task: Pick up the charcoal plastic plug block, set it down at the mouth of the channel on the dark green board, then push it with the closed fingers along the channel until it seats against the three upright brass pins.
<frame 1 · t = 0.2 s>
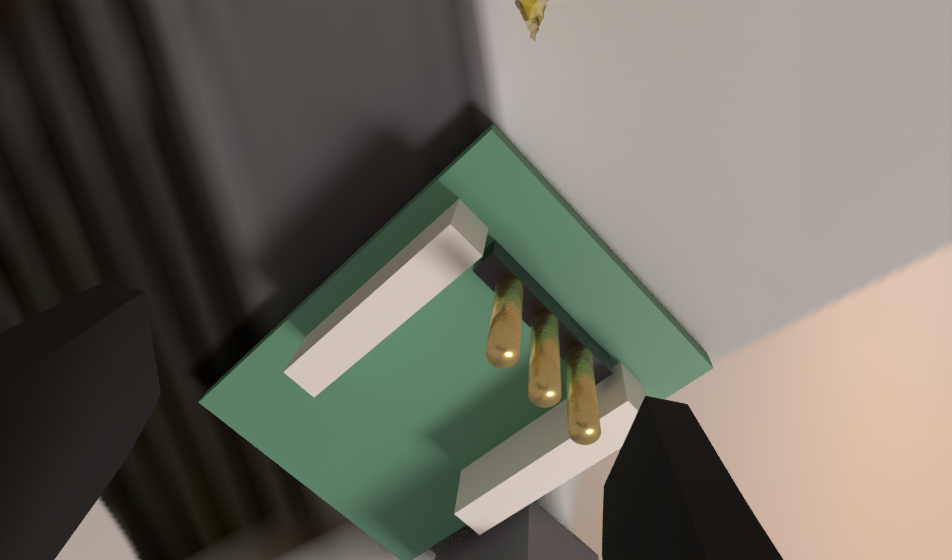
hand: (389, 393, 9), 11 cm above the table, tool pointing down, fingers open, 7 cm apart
plug block: (515, 554, 26), on the table
header pins: (544, 294, 20), resting on board
board: (444, 372, 22), on the table
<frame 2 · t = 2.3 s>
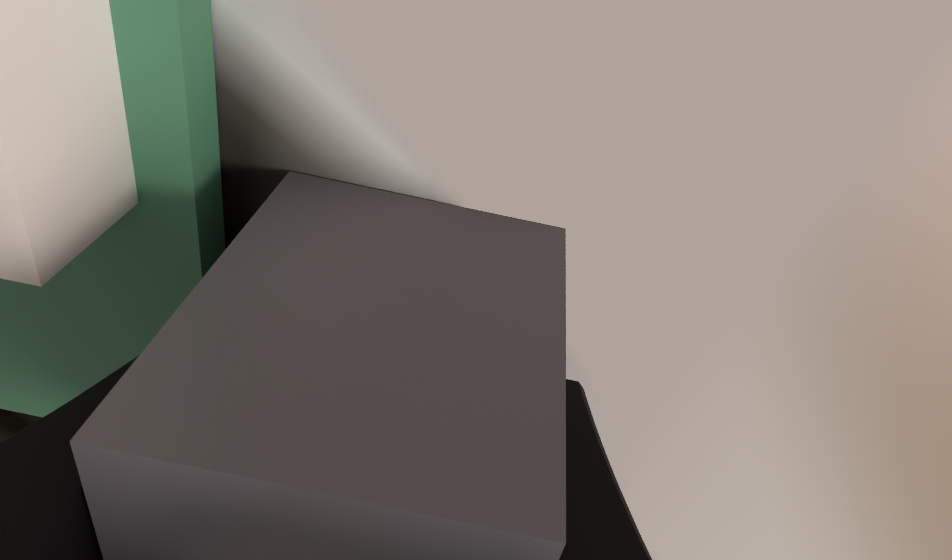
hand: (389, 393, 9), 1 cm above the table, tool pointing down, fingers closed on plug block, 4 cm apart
plug block: (408, 332, 11), on the table, touching gripper
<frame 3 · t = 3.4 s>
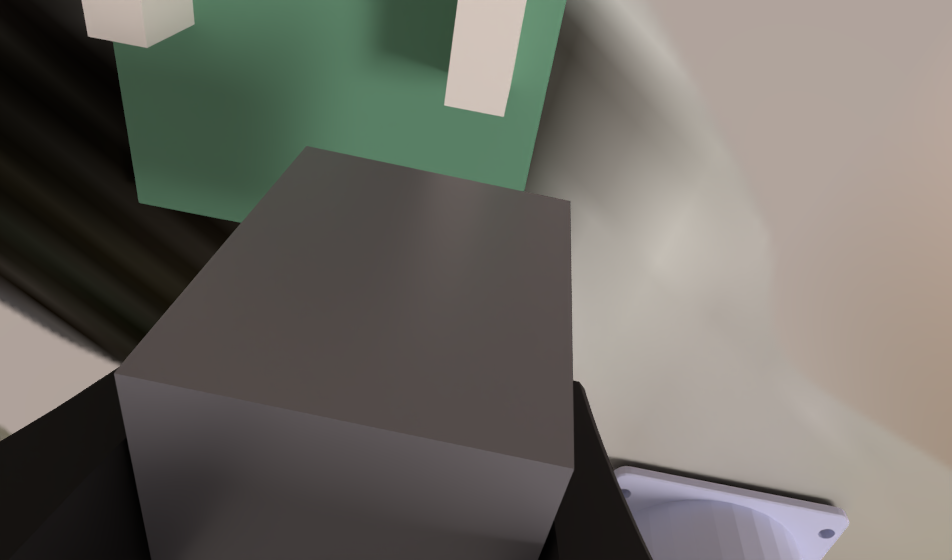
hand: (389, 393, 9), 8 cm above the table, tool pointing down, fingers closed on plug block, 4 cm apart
plug block: (418, 305, 11), point 6 cm above the table, touching gripper
when the fingers open (3 cm above the table, at t = 4.5 s): plug block stays where it is, resting on board.
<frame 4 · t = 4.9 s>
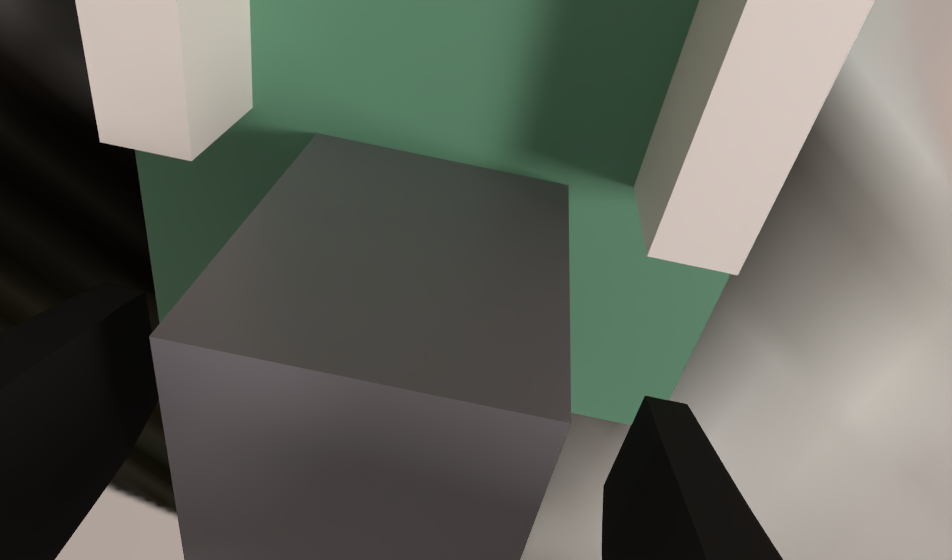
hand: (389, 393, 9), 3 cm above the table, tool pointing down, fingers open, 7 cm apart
plug block: (423, 286, 12), point 1 cm above the table, touching board
board: (471, 0, 10), on the table
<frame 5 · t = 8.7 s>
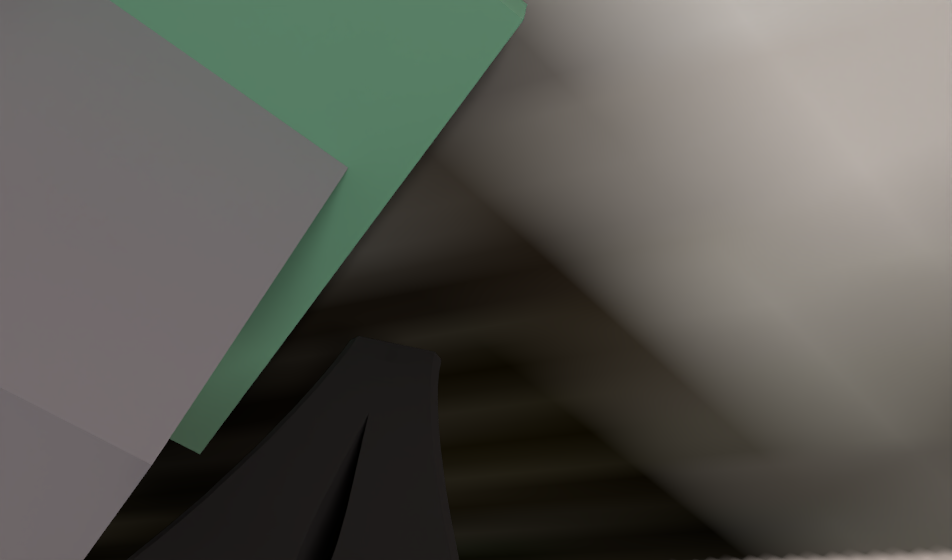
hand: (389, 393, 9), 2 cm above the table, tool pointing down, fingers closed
plug block: (123, 163, 9), point 1 cm above the table, touching board, gripper
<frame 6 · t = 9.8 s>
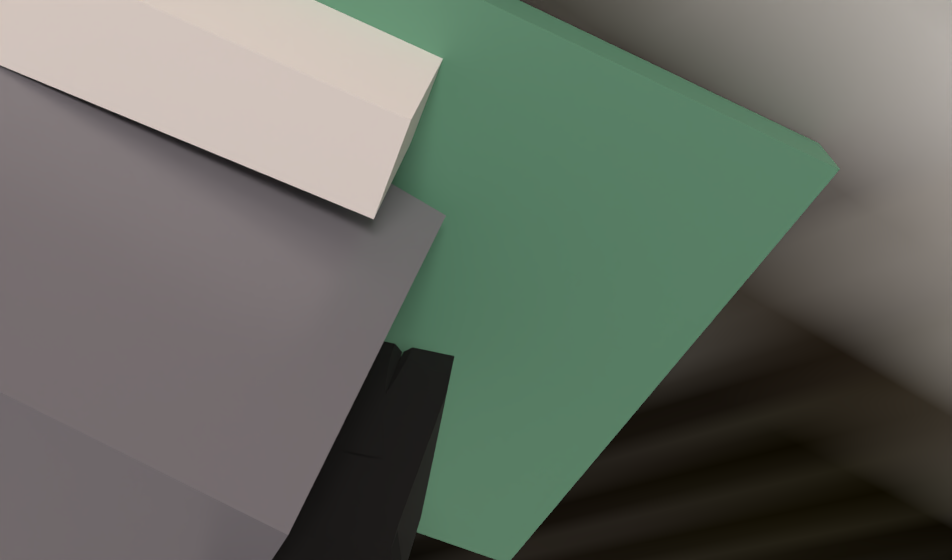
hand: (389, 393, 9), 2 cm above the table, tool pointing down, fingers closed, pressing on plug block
plug block: (231, 232, 9), point 1 cm above the table, touching board, gripper
board: (244, 231, 11), on the table
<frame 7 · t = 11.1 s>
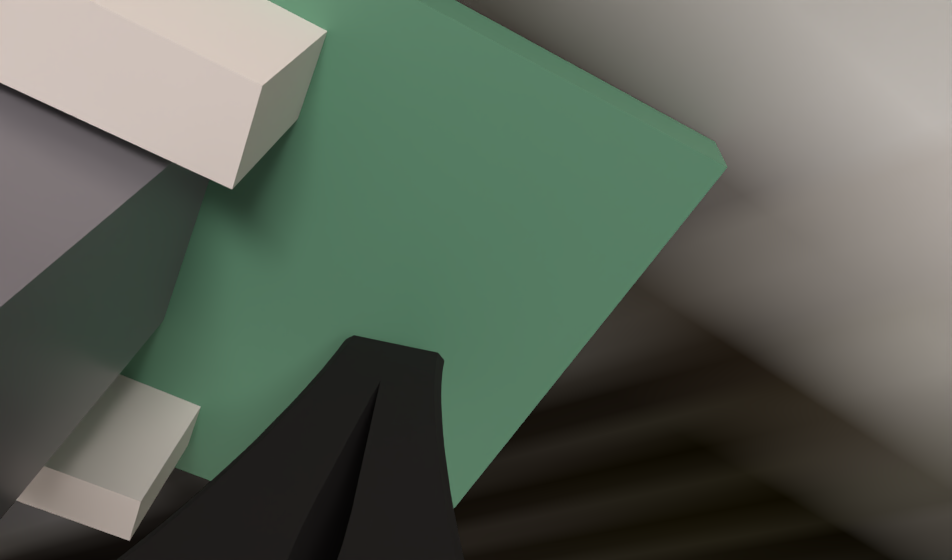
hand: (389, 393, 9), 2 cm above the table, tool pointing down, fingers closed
plug block: (18, 143, 9), point 1 cm above the table, touching board
board: (140, 204, 10), on the table
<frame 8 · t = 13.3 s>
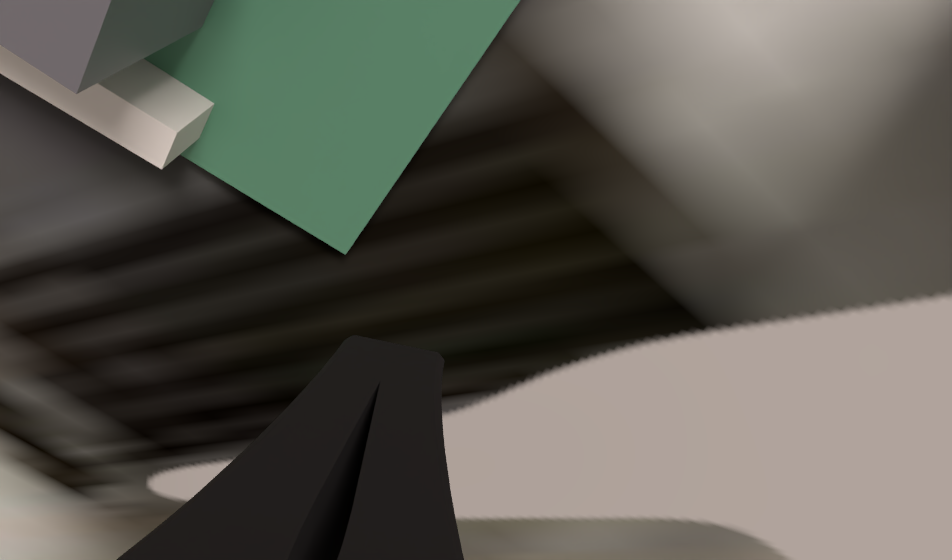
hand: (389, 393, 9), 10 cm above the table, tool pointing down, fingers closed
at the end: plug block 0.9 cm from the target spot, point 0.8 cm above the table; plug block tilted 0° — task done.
